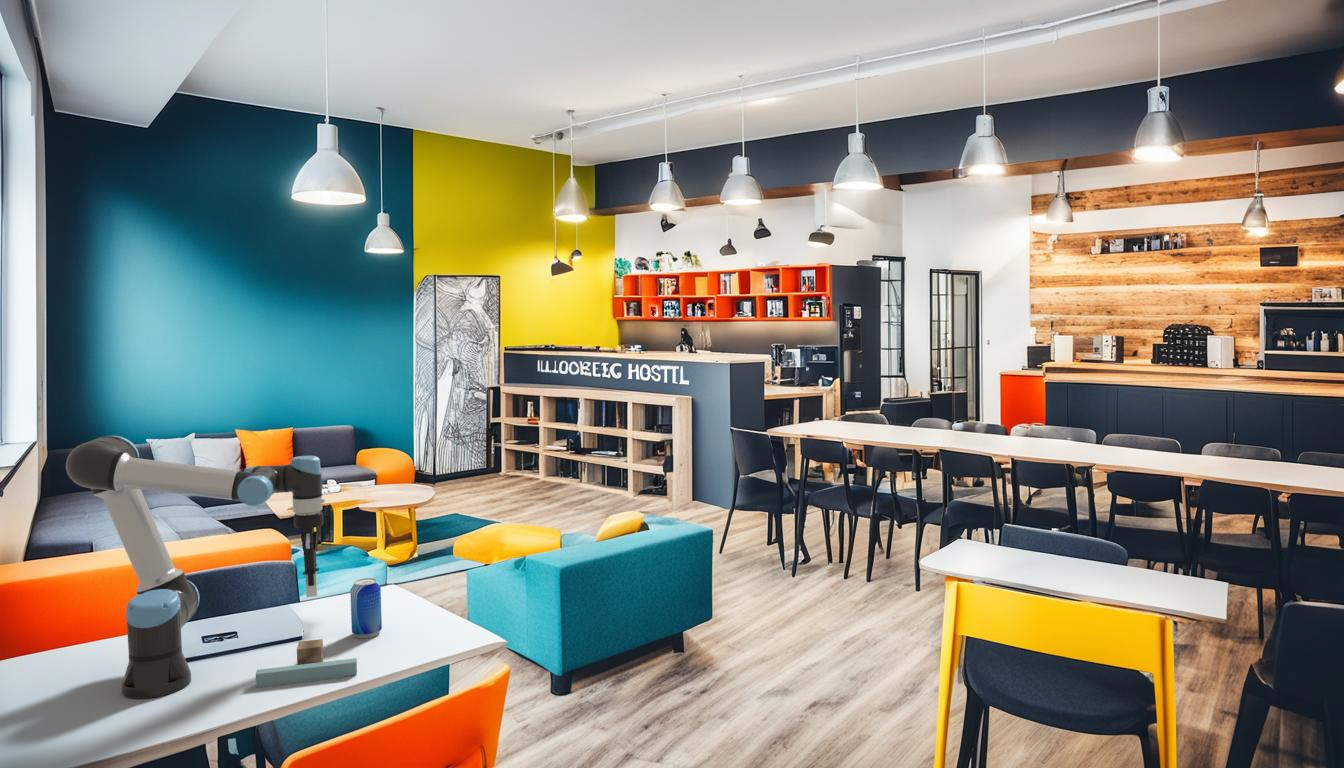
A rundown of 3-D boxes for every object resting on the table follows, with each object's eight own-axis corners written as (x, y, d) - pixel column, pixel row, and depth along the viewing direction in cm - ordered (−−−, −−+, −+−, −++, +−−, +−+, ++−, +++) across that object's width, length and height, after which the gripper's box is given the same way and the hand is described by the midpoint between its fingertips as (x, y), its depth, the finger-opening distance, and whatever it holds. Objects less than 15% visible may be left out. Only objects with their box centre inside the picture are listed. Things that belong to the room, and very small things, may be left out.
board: (256, 687, 221) (255, 674, 221) (257, 683, 224) (257, 669, 224) (356, 675, 229) (356, 662, 228) (357, 670, 232) (356, 658, 231)
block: (297, 671, 232) (296, 649, 231) (299, 663, 237) (298, 641, 237) (321, 668, 233) (321, 646, 233) (323, 660, 239) (322, 639, 239)
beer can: (362, 641, 253) (360, 587, 252) (346, 635, 258) (344, 582, 257) (387, 633, 259) (386, 580, 258) (371, 627, 265) (369, 575, 263)
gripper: (321, 516, 236) (324, 601, 238) (324, 506, 248) (327, 587, 250) (291, 518, 234) (295, 604, 235) (295, 508, 246) (299, 590, 248)
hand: (312, 595), depth 243 cm, fingers closed
